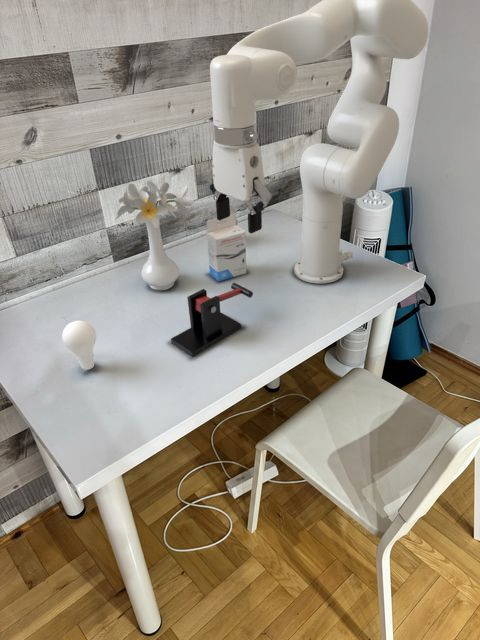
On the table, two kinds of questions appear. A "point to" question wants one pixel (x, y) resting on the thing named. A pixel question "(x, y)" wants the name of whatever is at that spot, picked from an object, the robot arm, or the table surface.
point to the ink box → (226, 248)
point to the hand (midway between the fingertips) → (239, 224)
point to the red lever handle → (225, 295)
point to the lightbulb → (80, 342)
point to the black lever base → (204, 325)
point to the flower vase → (155, 228)
